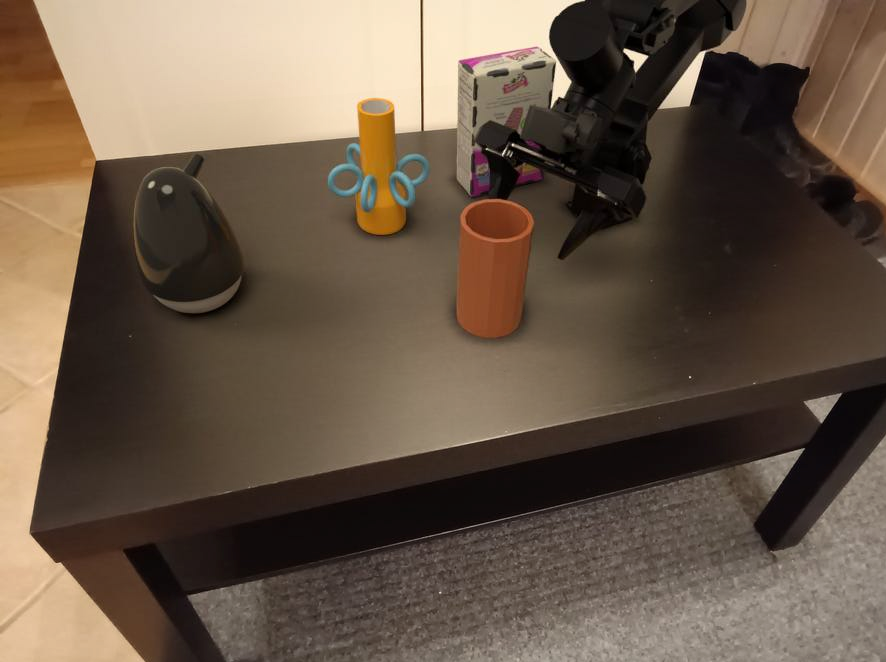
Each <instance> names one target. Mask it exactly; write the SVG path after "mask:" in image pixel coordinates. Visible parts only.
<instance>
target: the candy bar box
mask: <svg viewBox="0 0 886 662" xmlns="http://www.w3.org/2000/svg"><path fill="white" fill-rule="evenodd" d="M556 66H557V60H556V59H555V58H554V57H552V56H551V55H549V54H548V53H547V52H546V51H545V50H544V51H543V49H542V48H541V47H539V46H531V47H526V48H520V49H515V50H509V51H504V52H496V53H491V54H486V55H481V56H475V57H470V58H464V59H459V60H458V65H457V67H458V68H457V125H456V127H457V128H456V181H457V183H458V184H459V185H460V187H462V188H463V189H464V190H465V192H466V193H467V195H469V196H470V197H471V198H475V197H479V196H484V195H488V193H489V182H490V171H489V165H488V160H487V159H486V158H485V157H484V156H483V155H482V154H481V148H480V147H479V146H478V145H477V144H476V143H475V142H474V141H473V140H474V138H475V136H476V134H477V132H478V130H479V128H480V126H482V125H483V124H485V123H486V122H488V121H489V120H491V121H494V122H496V123H499V124H501V125H504V126H506V127H509V128H512V129H514V130H516V131H517V132H518V133H519V134H520V135H521V132H522V129H523V125H524V122H525V119H526V116H527V113H528V109H529V106H530V105H531V106H538V107H544V108H548V109H551V108H552V102H553V92H554V82H555V75H556V68H557V67H556ZM526 143H527V144H528V145H530V146H532V147H535V148H537V149H539V146H538V145H536V144H534V143H533V141H530V142H528V141H526ZM515 169H516V170H517V171H518V172H519V173H520V177H519V178H518V180H517V182H516V184H515V186H514V188H515V187H519V186H523V185H527V184H530V183H531V184H532V183H534V182H538V181H542V180H543V176H544V171H543V170H541V169H538V168H536V167H533V166H531V165H528V164H526V163H524V164H522V165H520V166H518V167H516V168H515Z"/></svg>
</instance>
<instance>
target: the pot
mask: <svg viewBox="0 0 886 662" xmlns="http://www.w3.org/2000/svg"><path fill="white" fill-rule="evenodd" d="M534 227H535V221H534V218H533V215H532V214H531V212H529V210H528V209H527V208H525V207H524V206H522V205H521V204H518V203H517V202H514V201H511V200H507V201H506V200H501V199H488V198H487V199H481V200H478V201H474V202H471V203H470V204H469V205H468V206H466V207H464V209H463V210H462V211H461V214H460V216H459V232H458V234H459V235H458V255H457V256H458V257H457V258H458V260H457V279H456V284H457V285H456V301H455V302H456V305H455V308H456V321H457V322H458V324H459V326H460V327H461V328H462V329H463V330H464V331H466V332H467V333H469V334H471V335H473V336H476V337H478V338H484V339H497V338H498V339H499V338H502V337H505V336H508V335H510V334H512V333H513V332H515V330H516V329H518V327H519V325H520V324H521V319H522V315H523V310H524V309H523V308H524V301H525V296H526V287H527V281H528V280H527V277H528V273H529V265H530V264H529V263H530V257H531V250H532V242H533V234H534Z"/></svg>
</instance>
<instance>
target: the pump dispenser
mask: <svg viewBox="0 0 886 662" xmlns="http://www.w3.org/2000/svg"><path fill="white" fill-rule="evenodd" d="M204 162H205V158H204V156H203V155H202V154H201V153H193V155H192V156H191V158H190V159H189V160H188V162H187V163H186V165H185V166H184V168H183V169H181V168H179V167H176V166H175V167H173V166H163V167H158V168H155V169H153V170H151V171H150V172H148V173H147V174H146V175H145V176H144V178H143V179H142V180H141V182H140V184H139V187H138V189H137V192H136V195H135V200H134V206H133V218H132V219H133V221H132V231H133V232H132V234H133V235H132V236H133V248H134V256H135V262H136V266H137V271H138V275H139V278H140V280H141V284H142V285H143V287H144V288H145V289H146V290H147V292H149V293H150V294H151V295H153V297H154V298H155V299H156V300H158V301H159V302H160V303H161V304H162V305H163V306H165V307H167V308H169V309H171V310H172V311H177V312H180V313H185V314H202V313H207V312H210V311H214V310H217V309H218V308H221V307H222V306H224V305H225V304H226V303H228V302H229V301H230V300H231V299H232V298H233V296H235V294H236V293H237V291H238V289H239V287H240V284H241V281H242V276H243V273H244V270H245V259H244V255H243V251H242V249H241V246H240V242H239V241H238V238H237V236H236V234H235V231H234V230H233V227H232V225H231V224H230V221H229V220H228V218H227V217H226V215H225V213H224V212H223V210H222V208H221V207H220V205H219V204H218V202H217V201H216V199H215V198H214V197H213V195H212V194H211V193H210V192H209V190H208V189H207V188H206V187H205V186H204V185H203V184H202V182H200V181H199V180H198V179H197V178H198V176H199V174H200V171H201V169H202V167H203V164H204Z"/></svg>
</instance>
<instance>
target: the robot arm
mask: <svg viewBox="0 0 886 662" xmlns="http://www.w3.org/2000/svg"><path fill="white" fill-rule="evenodd" d="M747 4H748V3H747V0H580V1H577V2H574V3H572V4H570V5H568V6H566V7H565V8H564V9H563V10H561V11H560V13H558V15H556V16H554V18H553V20H552V22H551V24H550V27H549V30H548V31H549V33H548V40H549V45H550V47H551V51H552V52H553V53H554V55H555V57H556V59H557V60H558V62H559V64H560V66H561V68H562V70H563V71H564V73H565V76H566V77H567V78H568V79H569V80H570V84H569V86H568V88H567V90H566V91H565V94H564V96H563V97H561V96H558V97H557V99H555V101H554V103H553V104H552V105H551V109H548V108H544V107H538V106H531V105H530V106H529V109H528V113H527V116H526V119H525V122H524V125H523V129H522V132H521V135H520V134H519V133H518V132H517V131H516V130H514V129H512V128H509V127H506V126H504V125H501V124H499V123H496V122H494V121H491V120H489V121H488V122H486V123H485V124H483V125H482V126H480V128H479V130H478V132H477V134H476V136H475V138H474V140H473V141H474V142H475V143H476V144H477V145H478V146H479V147H480V148H481V154H482V155H483V156H484V157H485V158H486V159H487V160H488V165H489V171H490V182H489V193H488V194H487V199H501V200H506V201H508V200H509V198H510V195H511V193H512V192H513V190H514V188H515V187H516V186H515V184H516V182H517V180H518V178H519V177H520V173H519V172H518V171H517V170H516V169H515V168H516V167H518V166H520V165H522V164H524V163H526V164H528V165H531V166H533V167H536V168H538V169H541V170H543V172H546V173H548V174H551V175H553V176H555V177H558V178H560V179H563V180H565V181H566V182H567V181H568V182H570V183H573V184H574V188H573V193H572V194H573V195H572V199H568V200H566V201H565V207H566V208H567V209H568V210H570V212H572V213H573V214H574V215H575V216H576V217H577V218H576V220H575V222H574V224H573V226H572V227H571V229H570V231H569V233H568V234H567V236H566V238H565V240H564V241H563V243H562V245H561V247H560V250H559V252H558V254H557V259H559V260H560V261H564V260H565V259H566V258H568V257H569V256H570V255H571V254H572V253H573V252H574V251H576V250H577V248H579V247H580V246H582V244H584V242H586V241H587V240H588V239H589V238H590V237H591V236H593V235H595V233H597V232H598V231H599V230H602V229H604V228H608V227H610V226H614V225H618V224H620V223H624V222H626V221H627V222H628V221H629V220H632V219H638V218H639V216H640V214H641V212H642V210H643V208H644V206H645V205H646V200H647V196H646V192H645V189H644V188H643V186H642V185H644V183H645V180H646V176H647V172H648V171H649V169H650V164H651V161H652V159H653V158H652V155H651V152H650V150H649V148H648V145H647V133H648V125H649V122H650V121H651V119H652V118H653V116H654V115H655V114H656V112H657V111H658V110H659V109H660V107H661V106H662V104H663V103H664V101H665V100H666V99H667V97H668V96H669V95H670V94H671V92H672V90H673V89H674V88H675V87H676V85H677V84H678V83H679V81H680V80H681V78H682V77H683V75H684V74H685V73H686V72H687V70H688V69H689V67H690V66H691V65H692V64H693V62H694V61H695V60H696V58H697V57H698V56H699V54H700V53H702V52H706V51H708V50H712V49H714V48H717V47H720V46H721V45H723V43H724V42H725V41H726V40H727V39H728V38H729V36H730V35H731V34H732V33H733V32H736V31H737V30H738V29H739V27H740V26H741V23H742V21H743V19H744V17H745V13H746V10H747ZM625 50H627V51H630V52H634V53H637V54H640V55H644V56H646V58H645V60H644V61H643V63H642V64H641V65H640V66H639V67H638V69H637V70H635V60H633V59H631V58H630V56H629V55H628V54H627V53H626V52H624V51H625ZM526 141H528V142H530V141H533V143H534V144H536V145H538V146H539V149H537V148H535V147H532V146H530V145H528V144H527V143H526ZM567 169H569V170H571V172H570V171H569V170H567ZM572 171H574V172H575V173H573V172H572ZM514 186H515V187H514Z"/></svg>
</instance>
